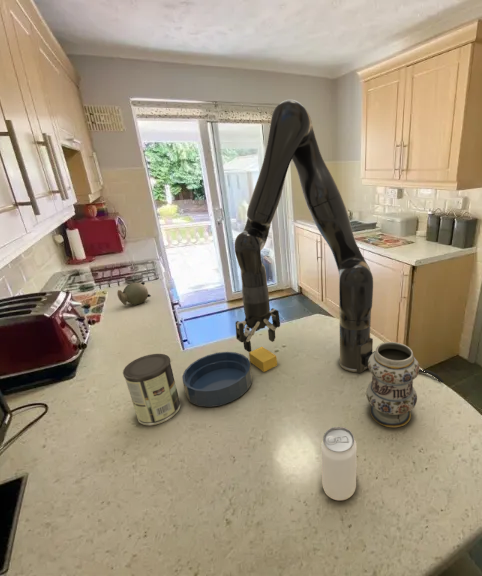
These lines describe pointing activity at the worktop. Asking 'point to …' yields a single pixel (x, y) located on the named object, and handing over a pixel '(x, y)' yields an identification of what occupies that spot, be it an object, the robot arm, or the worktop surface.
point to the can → (338, 463)
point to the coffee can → (152, 388)
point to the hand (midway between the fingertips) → (260, 345)
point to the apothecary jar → (392, 384)
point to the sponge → (263, 359)
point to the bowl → (217, 379)
